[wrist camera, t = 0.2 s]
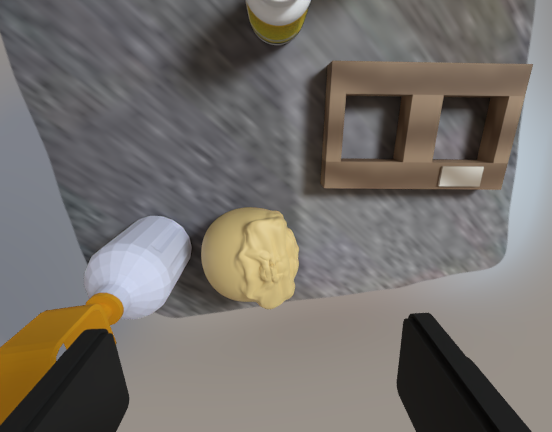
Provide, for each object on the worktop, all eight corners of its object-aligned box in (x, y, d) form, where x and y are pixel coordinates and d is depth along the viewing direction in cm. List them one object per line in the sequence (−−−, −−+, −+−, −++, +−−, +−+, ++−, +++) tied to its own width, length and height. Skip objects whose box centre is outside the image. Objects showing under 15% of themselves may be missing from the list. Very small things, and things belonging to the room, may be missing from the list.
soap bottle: (138, 277, 43) (-20, 468, 20) (118, 219, 40) (-94, 360, 17) (198, 269, 43) (112, 452, 19) (183, 209, 40) (61, 340, 16)
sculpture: (299, 269, 43) (309, 316, 33) (218, 280, 43) (203, 330, 33) (290, 193, 39) (297, 219, 29) (201, 205, 40) (178, 236, 29)
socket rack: (327, 65, 35) (333, 60, 31) (511, 68, 35) (535, 63, 32) (320, 183, 39) (324, 188, 36) (484, 184, 39) (502, 190, 36)
